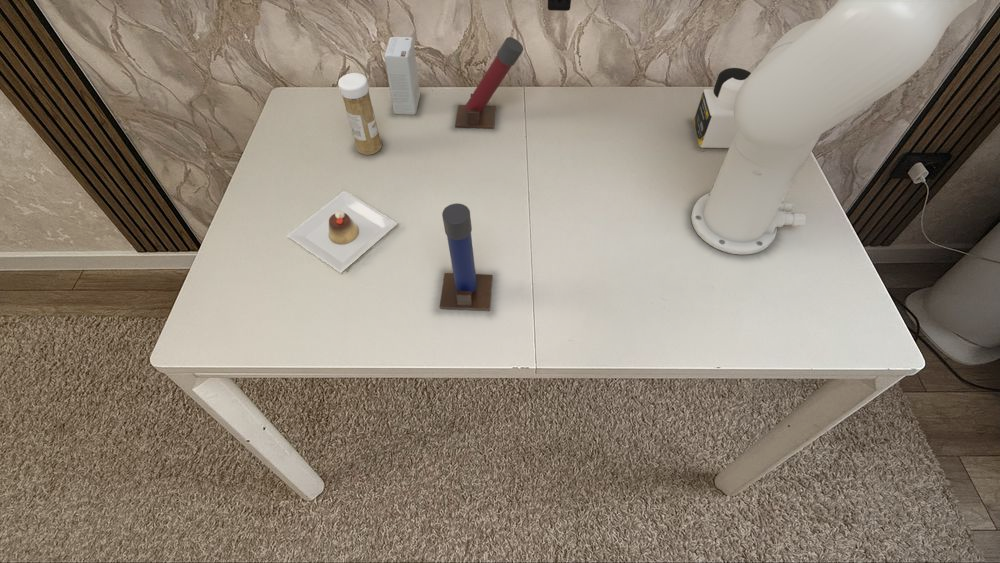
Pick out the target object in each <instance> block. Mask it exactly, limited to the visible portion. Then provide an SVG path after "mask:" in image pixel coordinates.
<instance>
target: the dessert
mask: <svg viewBox="0 0 1000 563" xmlns="http://www.w3.org/2000/svg"><path fill="white" fill-rule="evenodd" d="M397 225H398V222H397V221H396V220H394V219H392V218H390V217H388V216H387V215H385V213H382V212H380V211H379V210H377V209H376V208H374V207H373V206H371V205H370V204H368V203H366V202H365V201H363V200H361V199H359V198H358V197H356V196H354V195H353V194H351V193H350V192H348V191H346V190H341V192H340V193H338V194H337V195H336V196H334V197H333V198H332V199H331V200H329V201H328V202H326V203H325V204H324V205H323V206H321V208H319V209H318V210H316V211H315V212H314V213H313V214H311V215H310V216H308V218H306V219H305V220H304V221H302V222H301V223H300V224H299V225H298V226H296V227H295V228H293V229H292V230H290V232H288V233H286V237H288V238H289V239H290V240H292V241H294V242H295V243H296V244H298V245H299V246H301V247H302V248H303V249H305V250H306V251H308V252H309V253H311V254H312V255H314V256H315V257H317V258H318V259H319V260H321V261H322V262H323V263H325V264H327V265H328V266H329V267H331V268H332V269H334V270H335V271H337V273H341V274H342V273H343V272H344V271H345V270H346V269H348V268H349V267H350V266H351V265H352V264H353V263H354V262H356V261H357V259H359V258H360V257H361V256H363V254H365V253H366V252H367V251H368V250H369V249H370V248H372V247H373V246H374V245H375V244H376V243H378V241H379V240H381V239H382V238H383V237H384V236H386V235H387V234H388V233H389V232H390V231H391V230H392V229H393V228H394V227H396V226H397Z"/></svg>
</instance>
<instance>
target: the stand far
mask: <svg viewBox="0 0 1000 563" xmlns="http://www.w3.org/2000/svg"><path fill="white" fill-rule="evenodd" d="M472 94H473V93H470V98H471V96H472ZM465 106H466V104H458V106H457V111H456V116H455V123H454V128H458V129H492V130H493V129H495V120H496V109H497V105H486V106H485V108H484V109H483V111H482V112H481V114H480V110H468V112H467V110H466V108H465Z"/></svg>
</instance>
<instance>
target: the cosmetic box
mask: <svg viewBox="0 0 1000 563" xmlns="http://www.w3.org/2000/svg"><path fill="white" fill-rule="evenodd" d="M414 42H415V41H414V37H412V36H390V37H389V39H388V42H387V46H386V50H385V53H384V64H385V70H386V75H387V80H388V86H389V92H390V98H391V104H392V110H393V113H394V114H395V115H416V114H417V110H418V106H419V103H420V98H421V88H420V81H419V80H420V79H419V73H418V72H419V71H418V65H417V59H416V58H417V57H416V48H415V43H414Z"/></svg>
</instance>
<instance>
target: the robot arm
mask: <svg viewBox="0 0 1000 563" xmlns="http://www.w3.org/2000/svg"><path fill="white" fill-rule="evenodd" d="M976 2H978V0H837V1H836V2H835V4H834V5H833V6H832V7H831V8H830V9H829V10H828V11H827V12H826V13H825V14H824V15H823V16H822V17H821V18H815V19H814V18H813V19H811V20H810V19H809V20H806V21H804V22H802V23H800V24H797V25H796V26H794V27H793V28H791V29H790V30H788V31H787V32H785V33H784V34H783V35H782V36H781V37H780V38H779V39H778V40H777V41H776V42H775V44H774V45H773V46H772V47H771V48H770V49H769V50H768V52H767V53H766V54H765V55H764V56H763V58H761V60H760V62H759V63H758V64H757V66H755V68H754V69H753V70H752V71H751V72H750V73H751V74H750V75H749V76H748V78H747V79H746V80H745V82H744V83H743V84H742V86H741V88H740V90H739V92H738V94H737V97H736V100H735V105H734V118H735V122H736V125H737V128H738V129H737V131H736V133H735V136H734V138H733V140H732V143H731V145H730V148H728V150H727V151H726V152H727V153H726V154H725V157H724V160H723V162H722V165H721V167H720V169H719V172H718V174H717V176H716V179H715V182H714V184H713V186H712V189H711V191H710V192H708V193H706V194H703V195H702V196H701V197H700V198H698V200H696V202H695V204H694V205H693V207H692V211H691V216H690V219H691V224H692V227H693V229H694V231H695V232H696V233H697V235H698V237H700V238H701V239H702V240H703V241H704V242H705V243H707V244H708V245H709V246H711V247H713V248H714V249H717V250H719V251H721V252H724V253H728V254H731V255H740V256H741V255H743V256H744V255H753V254H757V253H760V252H762V251H764V250H766V249H767V248H768V247H769V246H770V245H771V244H772V243H773V241H774V239H775V238H776V236H777V233H778V228H783V227H784V225H786V226H791V227H793V226H795V227H804V226H805V224H806V222H807V215H806V213H805V212H802V213H801V212H792V211H793V209H794V204H793V202H785V201H784V200H785V198H786V197H787V194H788V193H789V191H790V189H791V187H792V186H793V184H794V182H795V180H796V179H797V177H798V175H799V173H800V172H801V170H802V168H803V166H804V165H805V163H806V162H807V160H808V159H809V157H810V155H811V153H812V152H813V150H814V148H815V146H816V144H817V143H818V141H819V140H820V138H821V136H822V134H824V133H826V132H827V131H829V130H831V129H833V128H835V127H836V126H837V125H839V124H841V123H842V122H844V121H845V120H848V119H849V118H851V117H852V116H853V115H855V114H857V113H859V112H860V111H862V110H864V109H865V108H867V107H869V106H870V105H872V104H874V103H875V102H877V101H878V100H880V99H881V98H883V97H885V96H886V95H887V94H889V93H891V92H892V91H894V90H895V89H897V88H898V87H899V86H901V85H902V84H904V83H905V82H906V81H907V80H909V79H910V78H911V77H912V76H913V75H914V74H916V73H917V71H919V70H920V68H922V66H924V64H926V62H927V61H928V59H929V58H930V57H931V55H932V54H933V53H934V51H935V50H936V48H937V46H938V44H939V42H940V41H941V40H942V37H943V35H944V33H945V32H946V30H947V28H949V27H950V25H951V23H953V21H954V20H955V19H956V18H957V17H958V16H959V15H960V14H962V12H964V11H965V10H967V8H969V7H971V6H972V5H974V4H975V3H976ZM571 4H572V0H547V10H548V11H552V12H553V11H555V12H556V11H557V12H558V11H559V12H560V11H561V12H568V11H570V10H571Z"/></svg>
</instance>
